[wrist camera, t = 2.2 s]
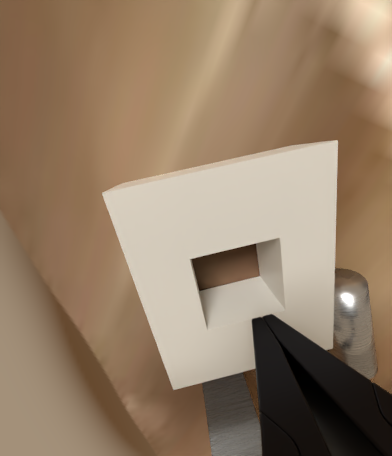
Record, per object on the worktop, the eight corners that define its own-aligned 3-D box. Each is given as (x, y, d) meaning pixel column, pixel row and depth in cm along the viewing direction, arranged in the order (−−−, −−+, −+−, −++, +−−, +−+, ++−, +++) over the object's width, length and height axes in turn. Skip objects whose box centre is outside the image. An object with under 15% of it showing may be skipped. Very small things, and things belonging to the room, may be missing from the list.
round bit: (380, 353, 16) (374, 388, 15) (335, 337, 19) (326, 367, 17) (371, 272, 14) (362, 304, 12) (321, 265, 16) (307, 292, 14)
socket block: (299, 309, 16) (332, 348, 13) (173, 341, 16) (173, 390, 12) (292, 145, 12) (337, 140, 9) (121, 183, 12) (101, 192, 8)
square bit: (240, 375, 18) (291, 538, 10) (206, 384, 17) (231, 555, 10) (235, 349, 17) (288, 509, 9) (199, 359, 16) (221, 528, 9)
